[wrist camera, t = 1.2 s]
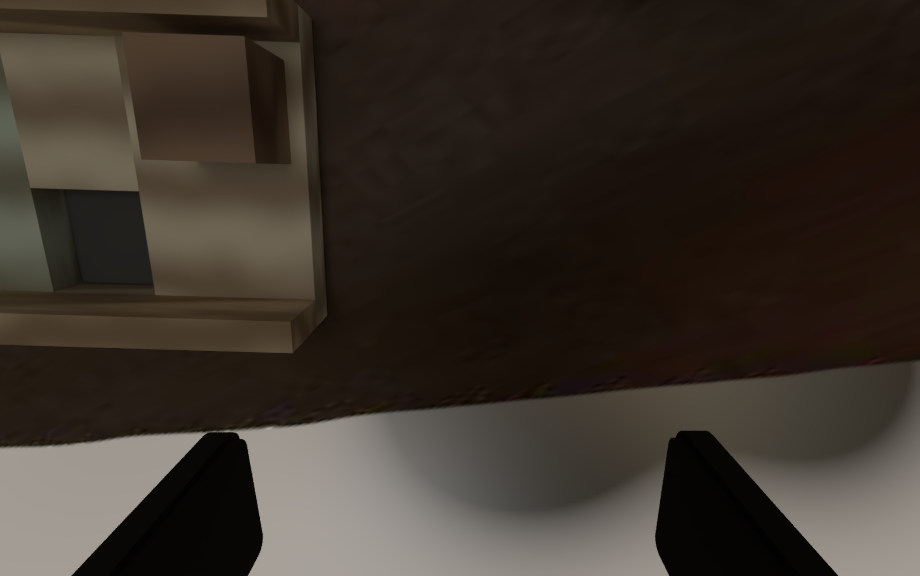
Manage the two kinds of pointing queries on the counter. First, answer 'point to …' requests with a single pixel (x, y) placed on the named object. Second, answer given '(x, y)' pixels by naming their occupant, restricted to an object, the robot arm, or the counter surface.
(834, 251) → the counter surface
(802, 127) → the counter surface
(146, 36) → the walnut block
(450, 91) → the counter surface
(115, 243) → the trap pit mat
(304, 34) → the channel deck
